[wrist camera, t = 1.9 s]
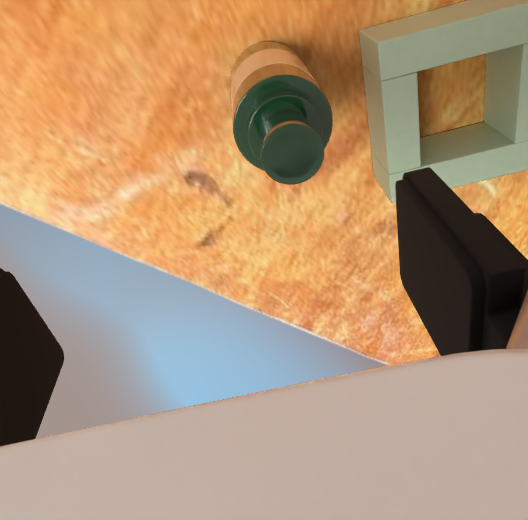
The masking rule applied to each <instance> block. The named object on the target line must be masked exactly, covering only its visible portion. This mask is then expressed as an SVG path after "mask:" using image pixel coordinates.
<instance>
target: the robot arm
mask: <svg viewBox="0 0 528 520" xmlns="http://www.w3.org/2000/svg"><path fill="white" fill-rule="evenodd" d="M395 191H396V209H397V226H398V243H399V260H400V275H401V280H402V283H403V286H404V288H405V290H406V292H407V294H408V296H409V297H410V299H411V301H412V303H413V305H414V307H415V309H416V310H417V312H418V314H419V316H420V318H421V320H422V322H423V323H424V325H425V327H426V329H427V331H428V333H429V334H430V336H431V338H432V340H433V342H434V344H435V346H436V347H437V349H438V351H439V353H440V355H441V356H439V357H433V358H428V359H422V360H416V361H410V362H404V363H399V364H393V365H388V366H384V367H378V368H373V369H369V370H364V371H359V372H354V373H349V374H344V375H339V376H335V377H329V378H325V379H320V380H315V381H310V382H305V383H300V384H296V385H290V386H286V387H281V388H276V389H271V390H266V391H261V392H256V393H251V394H247V395H242V396H237V397H232V398H227V399H223V400H218V401H213V402H209V403H203V404H199V405H194V406H189V407H185V408H180V409H175V410H170V411H165V412H161V413H156V414H151V415H147V416H141V417H137V418H132V419H127V420H122V421H118V422H113V423H109V424H104V425H99V426H94V427H89V428H85V429H80V430H75V431H71V432H66V433H61V434H56V435H52V436H47V437H42V438H38V439H35V438H36V435H37V433H38V430H39V427H40V424H41V422H42V419H43V416H44V413H45V411H46V408H47V405H48V403H49V400H50V397H51V395H52V392H53V389H54V387H55V384H56V381H57V378H58V376H59V373H60V370H61V368H62V365H63V362H64V353H63V350H62V348H61V346H60V345H59V343H58V342H57V341H56V339H55V337H54V336H53V334H52V333H51V331H50V330H49V329H48V327H47V325H46V324H45V322H44V321H43V319H42V318H41V316H40V315H39V313H38V312H37V310H36V309H35V307H34V306H33V304H32V303H31V301H30V300H29V298H28V297H27V295H26V294H25V292H24V291H23V289H22V288H21V286H20V285H19V283H18V282H17V280H16V279H15V277H14V276H13V275H12V274H11V273H10V272H5V271H4V270H2V269H1V268H0V520H528V260H527V259H526V258H525V257H524V256H523V255H522V254H521V253H520V252H519V251H518V250H517V249H516V248H515V247H514V245H513V244H512V243H511V242H510V241H509V240H508V239H507V238H506V237H505V236H504V235H503V234H502V233H501V232H500V231H499V230H498V229H497V228H496V227H495V226H494V225H493V224H492V223H491V222H490V221H489V220H488V219H487V218H486V217H485V216H484V215H482V214H481V213H475V214H474V213H473V212H472V211H471V210H470V209H469V208H468V207H467V206H466V204H465V203H464V202H463V201H462V200H461V199H460V198H459V197H458V196H457V195H456V194H455V193H454V192H453V191H452V190H451V189H450V188H449V187H448V185H447V184H446V183H445V182H444V181H443V180H442V179H441V178H440V177H439V176H438V175H437V174H436V173H435V172H434V171H433V170H432V169H431V168H430V167H427V168H423V169H418V170H414V171H410V172H406V173H404V174H403V178H402V180H399V181H396V184H395Z"/></svg>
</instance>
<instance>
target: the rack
mask: <svg viewBox="0 0 528 520" xmlns="http://www.w3.org/2000/svg"><path fill="white" fill-rule="evenodd" d="M359 39H360V48H361V58H362V64H363V66H362V68H363V77H364V87H365V96H366V106H367V115H368V125H369V134H370V144H371V154H372V164H373V173H374V177H375V178H376V180H377V181H378V183H379V185H380V186H381V188H382V189H383V191H384V192H385V194H386V195H387V197H388V198H389V200H390V201H391V203H393V202H396V191H395V184H396V181H399V180H402V178H403V174H404V173H406V172H410V171H414V170H418V169H423V168H427V167H430V168H431V169H432V170H433V171H434V172H435V173H436V174H437V175H438V176H439V177H440V178H441V179H442V180H443V181H444V182H445V183H446V184H447V185H448V187H449V188H454V187H458V186H462V185H466V184H471V183H475V182H479V181H483V180H487V179H491V178H495V177H499V176H503V175H508V174H512V173H516V172H520V171H524V170H528V0H468V1H464V2H460V3H457V4H453V5H449V6H445V7H442V8H438V9H434V10H431V11H427V12H423V13H420V14H416V15H412V16H409V17H405V18H401V19H397V20H394V21H390V22H386V23H383V24H379V25H375V26H372V27H368V28H364V29H360V30H359ZM483 54H486V75H485V98H484V122H481V123H477V124H473V125H469V126H465V127H461V128H457V129H453V130H449V131H445V132H441V133H438V134H434V135H430V136H426V137H422V138H420V131H419V105H418V80H417V72H418V71H422V70H426V69H430V68H433V67H437V66H441V65H445V64H449V63H452V62H456V61H460V60H464V59H468V58H472V57H475V56H479V55H483Z"/></svg>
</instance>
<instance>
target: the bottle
mask: <svg viewBox="0 0 528 520" xmlns="http://www.w3.org/2000/svg"><path fill="white" fill-rule="evenodd" d="M230 96H231V111H232V120H233V133H234V138H235V141H236V144H237V146H238V148H239V150H240V152H241V153H242V155H243V156H244V157H245V158H246V159H247V160H248V161H249V162H250V163H251V164H252V165H254V166H256V167H257V168H259V169H261V170H264V171H265V172H266V173H267V174H268V175H269V176H270V177H271V178H272V179H273V180H275V181H277V182H279V183H283V184H299V183H302V182H304V181H306V180H308V179H310V178H311V177H312V176H314V175H315V174H316V172H317V171H318V170H319V168H320V167H321V165H322V162H323V159H324V149H325V147H326V145H327V143H328V141H329V139H330V136H331V132H332V124H333V119H332V111H331V107H330V105H329V102H328V100H327V98H326V96H325V95H324V93H323V92H322V90H321V89H320V87H319V86H318V84H317V82H316V81H315V79H314V78H313V76H312V75H311V73H310V72H309V70H308V69H307V67H306V66H305V65H304V63H303V62H302V60H301V59H300V58H299V56H298V55H297V54H296V53H295V52H294V51H293V50H292V49H291V48H289V47H288V46H286V45H284V44H281V43H278V42H271V41H267V42H260V43H257V44H254V45H252V46H250V47H249V48H247V49H246V50H245V51H244V52H242V53H241V55H240V56H239V57H238V58H237V60H236V61H235V63H234V65H233V68H232V71H231V76H230Z"/></svg>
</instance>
